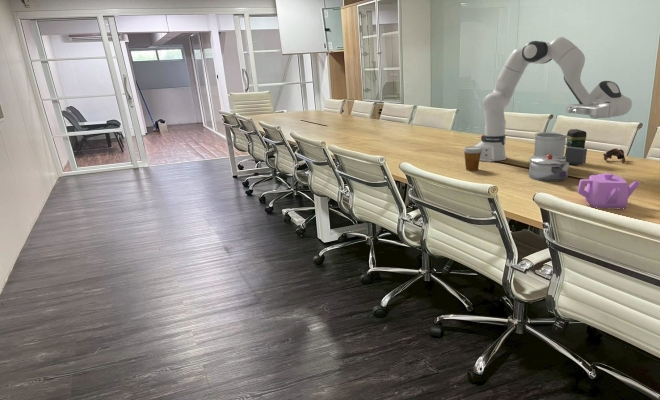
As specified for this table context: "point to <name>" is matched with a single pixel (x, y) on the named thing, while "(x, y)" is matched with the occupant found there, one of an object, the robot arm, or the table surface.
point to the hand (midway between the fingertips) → (571, 111)
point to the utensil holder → (550, 143)
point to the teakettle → (606, 190)
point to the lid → (562, 157)
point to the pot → (548, 172)
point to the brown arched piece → (615, 154)
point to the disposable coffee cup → (472, 157)
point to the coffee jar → (575, 140)
